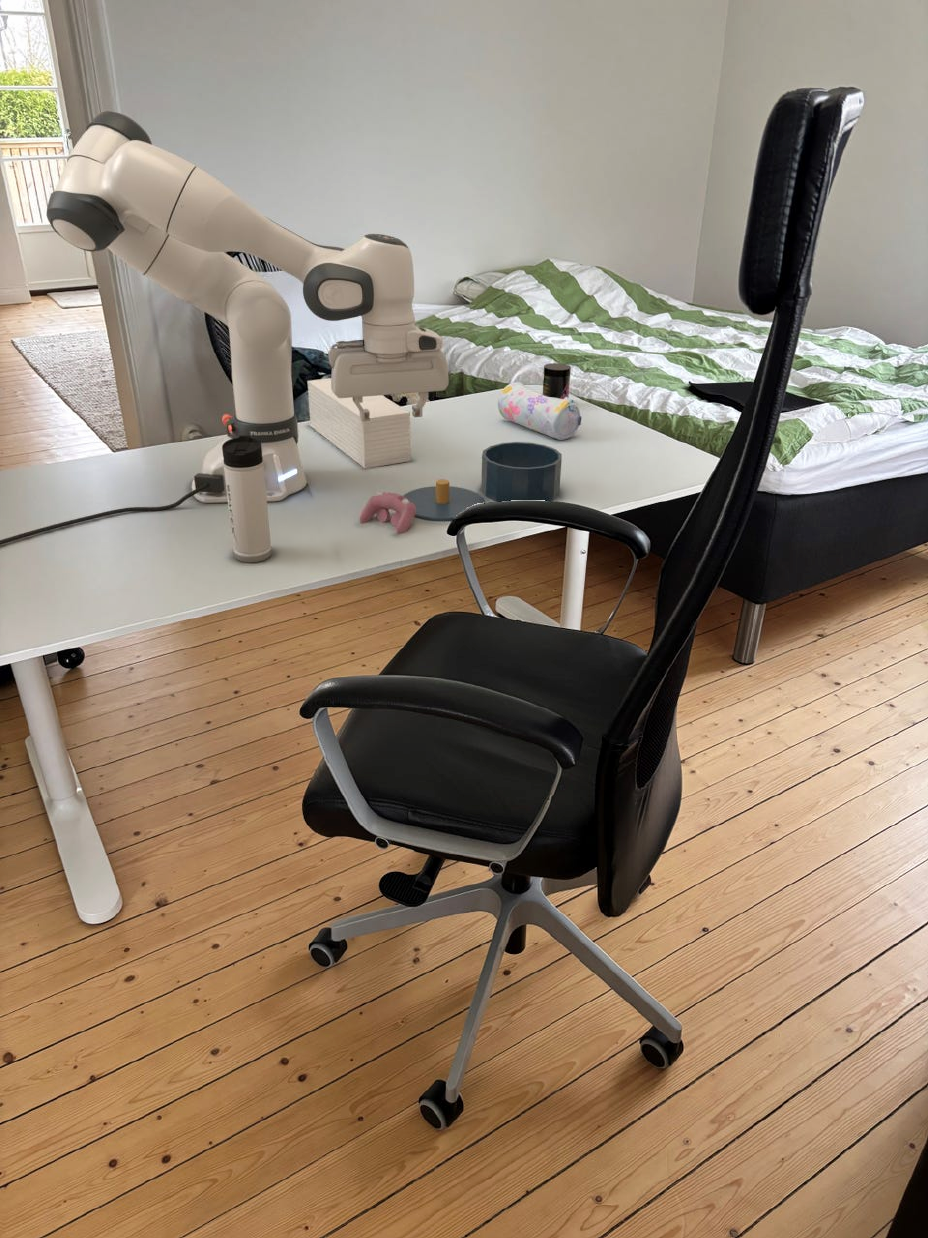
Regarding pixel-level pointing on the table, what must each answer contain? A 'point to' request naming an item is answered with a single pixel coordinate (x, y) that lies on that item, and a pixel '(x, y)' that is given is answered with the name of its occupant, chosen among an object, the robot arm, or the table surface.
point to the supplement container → (556, 380)
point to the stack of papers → (360, 425)
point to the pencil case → (539, 411)
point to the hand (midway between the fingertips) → (391, 418)
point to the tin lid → (442, 501)
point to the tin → (521, 472)
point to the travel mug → (247, 498)
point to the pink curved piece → (381, 507)
